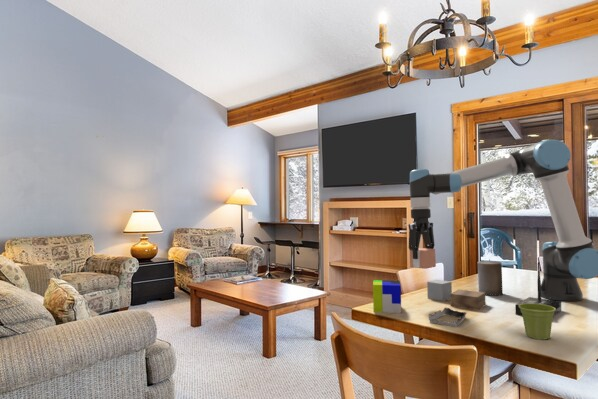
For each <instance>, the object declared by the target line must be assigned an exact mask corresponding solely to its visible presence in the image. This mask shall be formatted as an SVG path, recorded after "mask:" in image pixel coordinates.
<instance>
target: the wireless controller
mask: <svg viewBox="0 0 598 399" xmlns="http://www.w3.org/2000/svg"><path fill="white" fill-rule="evenodd" d="M540 271H541V270H540V261H538V262H537V283H536V285H537V297H531V296H529V297H527V298H525V299H523V300H521V301H520V302H518V303H516V304H515V306H514V308H515V315H517V316H522V313H521V310H520V308H519V305H520V304H526V303H533V304H542V305H548V306H552V307H554V308H556V311H554V315H553V318H554V317H555V316H557V315H558V314H559V313H560V312H562V301H561V300H553V299H548V298H545V299H544V298H542V297H541V283H542V281H541V272H540Z"/></svg>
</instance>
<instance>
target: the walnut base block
mask: <svg viewBox="0 0 598 399" xmlns="http://www.w3.org/2000/svg"><path fill="white" fill-rule="evenodd" d="M486 303H487V302H486V295H485V292H479V291H475V290H467V289H457V290H455V291H454V292H453V291H452V293H451V299H450V307H454V306H455V307H454V308H461V307H462V309H470V310H476V311H478V310H479V311H480V309H481V308H483V307H484V306H486Z"/></svg>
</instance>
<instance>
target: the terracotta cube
mask: <svg viewBox="0 0 598 399" xmlns="http://www.w3.org/2000/svg"><path fill="white" fill-rule="evenodd" d="M418 251H420V267H421V268H420V269H425V270H426V269H431V268H435V267H436V264H437V262H436V248H434V249H428V248H425V247H419V249H418ZM409 267H410V268H416V269H418V268H417V267H413V251H412V250H410V249H409Z"/></svg>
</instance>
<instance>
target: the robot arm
mask: <svg viewBox="0 0 598 399" xmlns="http://www.w3.org/2000/svg"><path fill="white" fill-rule="evenodd" d="M571 157H572V156H571V151H570V147H568V145H567V144H566V143H565V142H563V141H561V140H558V139H545V140H541V141H539V142H536V143H533V144H529V145H528V146H525V147H523V148H521V149H519V150H516V151H514V152H511V153H507V154H506V155H504V157H501V158H497V159H494V160H490V161H486V162H483V163H479V164H476V165H473V166H469V167H465V168H461V169H458V170H455V171H454V170H453V171H450V172H447V173H437V174H431V173H430V171H429V170H428V169H426V168H425V169H422V168H421V169H420V168H419V169H413V170H411V171H410V172H409V197H410V208H412V209H410V218H411V219H412V221H413V222H412V223H408V249H409V251H410V250H412V251H413V267H412V268H414V267H417V268H416V269H422V268H421V267H420V251H418V249H419V248H420V242H421V237H422V240H423V244H424V248H428V249H435V237H434V223H433V222H429V219H430V218H431V217H432V216H431V209H430V208H431V194H433V195H440V194H446V193H450V194H453V193H459V192H461V190H462V188H464V187H465V188H466V187H469V186H473V185H475V184H480V183H482V182H487V181H491V180H495V179H498V178H502V177H503V178H504V177H505V176H512V177H515V176H519V175H524V174H532V175H533V177H534V180H535V181H538V182H540V185H541V187H542V191H543V194H544V197H545V201H546V204H547V207H548V210H549V213H550V217H551V220H552V222H553V225H554V229H555V233H556V235H557V239H558V241H546V242H543V243H542V250H541V252H542V267H543V269H542V271H543V272H542V273H543V278H542V281H541V298H543V299H544V298H545V299H547V300H555V301H561V302H562V301H565V302H577V301H578V302H579V301H583V298H584V297H583V291H582V289H581V287H580V283H579V281H578V279H581V280H590V279H594V278H596V277H598V249H596V248H595V247H594V244H593V240H592V239H591V238H589V237H587V236H586V235H585V232H584V228H583V225H582V223H581V219H580V217H579V216H580V215H579V212H578V209H577V206H576V203H575V200H574V196H573V193H572V190H571V187H570V184H569V180H568V177H567V175H568V173H569V172H570V167H569V165H568V164H569V162H570V160H571Z"/></svg>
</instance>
